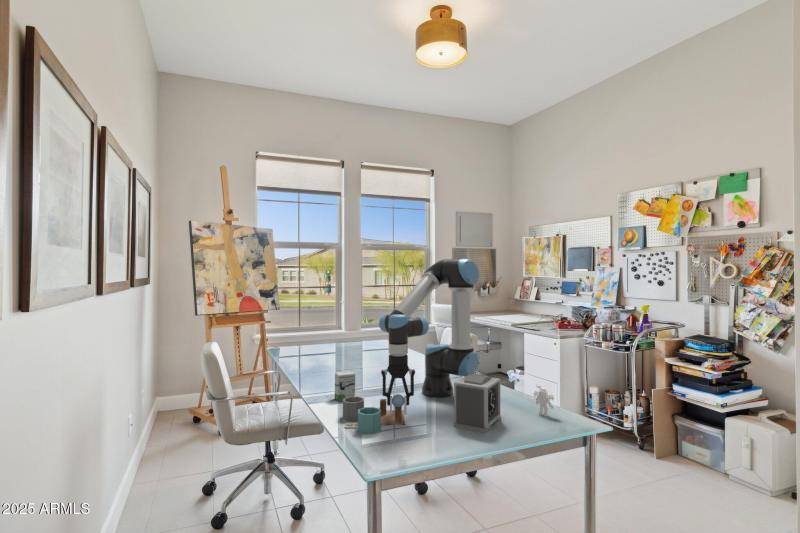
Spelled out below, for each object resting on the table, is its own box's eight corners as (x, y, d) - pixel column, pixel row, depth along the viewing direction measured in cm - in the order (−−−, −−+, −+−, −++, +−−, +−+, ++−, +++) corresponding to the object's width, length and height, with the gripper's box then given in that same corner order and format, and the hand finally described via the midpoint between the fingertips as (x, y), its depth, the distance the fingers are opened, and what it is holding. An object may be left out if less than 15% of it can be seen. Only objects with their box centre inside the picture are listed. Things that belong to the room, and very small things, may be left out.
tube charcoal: (364, 413, 177) (364, 396, 177) (363, 420, 169) (363, 402, 169) (344, 413, 177) (344, 396, 177) (342, 420, 168) (342, 402, 169)
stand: (403, 411, 180) (403, 397, 180) (404, 424, 164) (404, 409, 164) (377, 411, 180) (377, 397, 180) (376, 425, 164) (376, 410, 164)
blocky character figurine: (531, 413, 177) (531, 384, 177) (537, 411, 180) (537, 382, 180) (550, 419, 170) (550, 389, 170) (556, 417, 172) (556, 387, 173)
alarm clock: (485, 434, 155) (485, 383, 155) (452, 427, 162) (452, 378, 162) (501, 419, 170) (501, 373, 171) (471, 413, 177) (471, 369, 178)
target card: (363, 423, 165) (363, 421, 165) (362, 428, 160) (362, 426, 160) (345, 423, 165) (345, 422, 165) (344, 428, 160) (344, 426, 160)
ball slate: (404, 405, 170) (404, 392, 170) (404, 409, 165) (404, 396, 165) (391, 405, 170) (391, 392, 170) (391, 409, 165) (391, 396, 165)
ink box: (337, 401, 193) (337, 375, 194) (334, 398, 198) (334, 372, 198) (355, 398, 197) (355, 373, 198) (351, 395, 202) (351, 370, 202)
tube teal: (380, 425, 163) (380, 407, 163) (380, 433, 155) (380, 414, 155) (358, 425, 163) (358, 407, 163) (357, 434, 155) (357, 414, 155)
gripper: (420, 352, 171) (420, 410, 171) (375, 352, 171) (375, 410, 171) (421, 356, 164) (421, 416, 164) (375, 356, 164) (375, 417, 163)
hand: (398, 413), depth 167 cm, fingers closed on ball slate, 5 cm apart
